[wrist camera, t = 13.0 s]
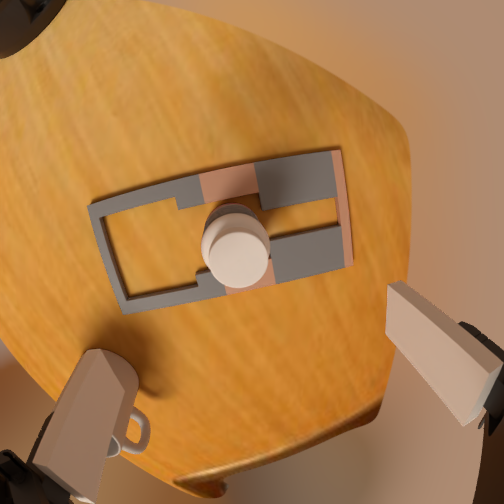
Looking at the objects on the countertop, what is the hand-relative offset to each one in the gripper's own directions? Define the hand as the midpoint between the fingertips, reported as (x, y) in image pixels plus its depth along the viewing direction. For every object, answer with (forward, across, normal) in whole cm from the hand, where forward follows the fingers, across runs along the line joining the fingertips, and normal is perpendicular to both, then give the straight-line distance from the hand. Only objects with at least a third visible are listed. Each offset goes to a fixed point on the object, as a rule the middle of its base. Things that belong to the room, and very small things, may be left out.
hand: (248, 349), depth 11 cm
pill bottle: (+17, 0, +1) cm, 17 cm away
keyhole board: (+17, 0, +1) cm, 17 cm away
